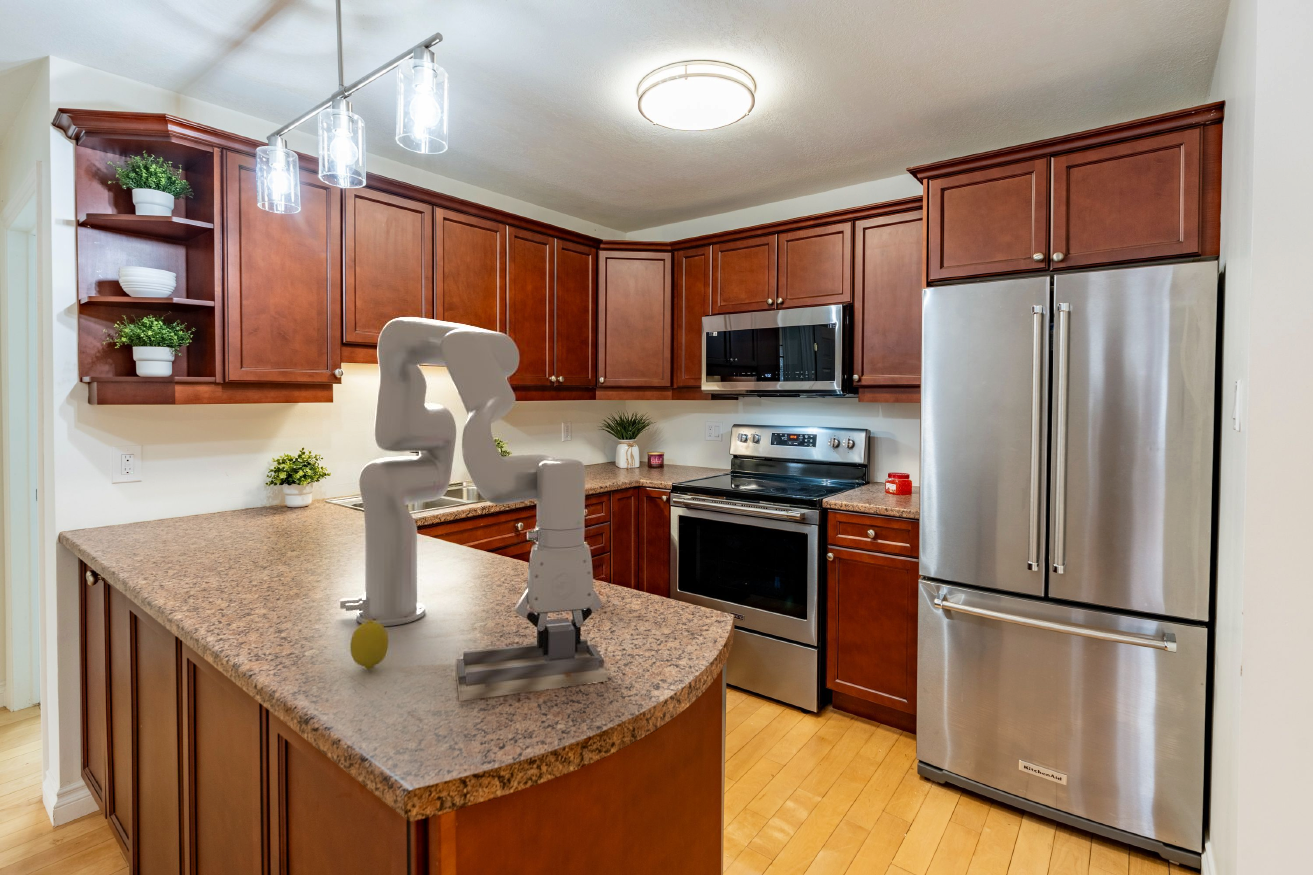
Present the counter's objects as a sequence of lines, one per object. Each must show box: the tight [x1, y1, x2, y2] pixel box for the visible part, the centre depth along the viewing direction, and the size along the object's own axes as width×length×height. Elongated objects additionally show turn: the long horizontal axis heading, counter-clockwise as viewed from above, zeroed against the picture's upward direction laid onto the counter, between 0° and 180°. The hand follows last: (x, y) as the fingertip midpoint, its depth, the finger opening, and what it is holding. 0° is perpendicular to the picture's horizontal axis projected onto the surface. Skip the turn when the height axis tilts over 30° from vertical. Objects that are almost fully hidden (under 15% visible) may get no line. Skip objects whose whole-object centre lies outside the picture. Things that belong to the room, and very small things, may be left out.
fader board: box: [455, 638, 608, 702], centre depth 101 cm, size 22×11×4 cm, turn 110°
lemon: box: [349, 620, 389, 671], centre depth 102 cm, size 6×6×8 cm
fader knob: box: [543, 617, 575, 661], centre depth 102 cm, size 4×6×6 cm
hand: (558, 649), depth 102 cm, fingers closed on fader knob, 4 cm apart
